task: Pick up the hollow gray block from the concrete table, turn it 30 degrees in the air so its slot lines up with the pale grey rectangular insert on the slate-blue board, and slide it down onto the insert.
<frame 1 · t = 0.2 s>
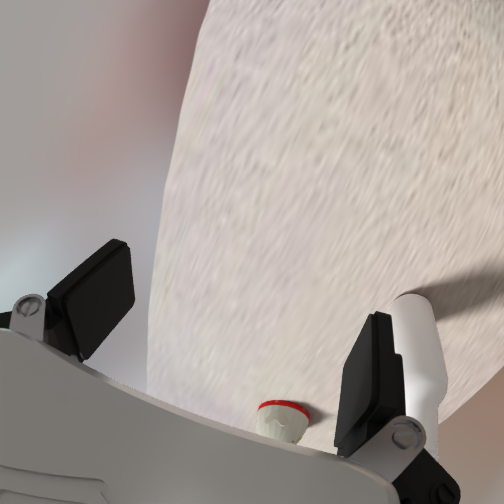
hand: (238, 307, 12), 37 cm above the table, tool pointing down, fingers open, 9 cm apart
alcohol: (408, 310, 52), on the table
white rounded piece: (284, 413, 77), on the table
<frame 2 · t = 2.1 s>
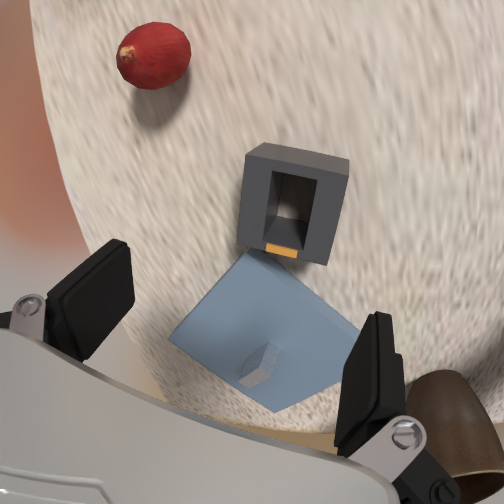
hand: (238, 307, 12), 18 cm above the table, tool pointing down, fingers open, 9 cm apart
onion: (177, 57, 24), on the table
hollow gray block: (299, 190, 27), on the table
base board: (268, 340, 37), on the table
pale grey rectangular insert: (259, 365, 33), on the base board, point 4 cm above the table
plant pot: (438, 386, 33), on the table
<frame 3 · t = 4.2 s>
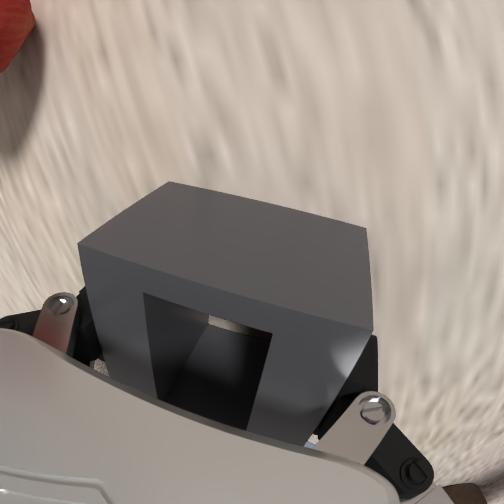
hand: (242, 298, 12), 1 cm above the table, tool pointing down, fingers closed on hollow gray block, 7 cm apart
onion: (33, 25, 9), on the table
hollow gray block: (249, 285, 13), on the table, touching gripper
plant pot: (445, 494, 20), on the table
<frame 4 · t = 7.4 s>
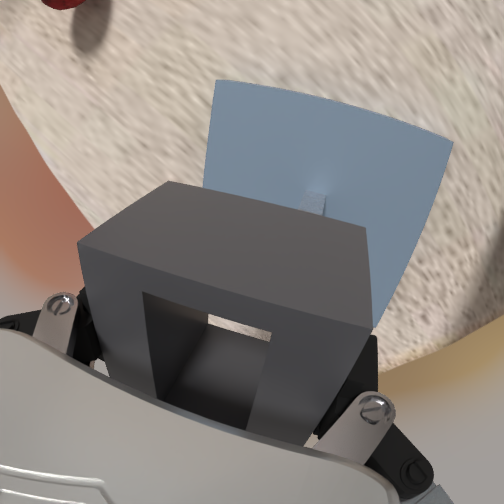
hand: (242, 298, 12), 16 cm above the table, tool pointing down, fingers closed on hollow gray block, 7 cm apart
hollow gray block: (248, 285, 13), point 15 cm above the table, touching gripper
base board: (312, 206, 26), on the table
pale grey rectangular insert: (306, 226, 23), on the base board, point 4 cm above the table
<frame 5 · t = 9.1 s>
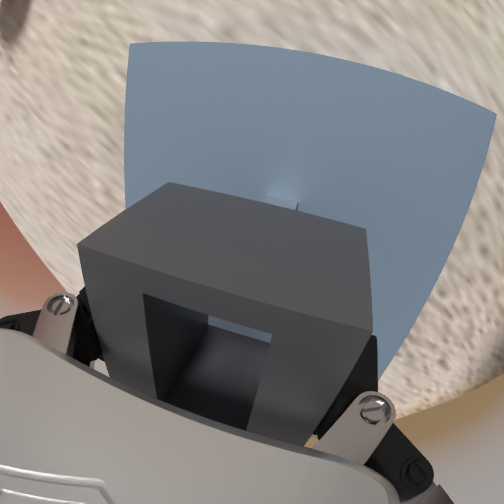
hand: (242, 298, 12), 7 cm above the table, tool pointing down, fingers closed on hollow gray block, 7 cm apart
hollow gray block: (249, 286, 13), point 6 cm above the table, touching gripper
base board: (282, 218, 18), on the table
when the fingers open (4 cm above the table, at t = 10.4 s): hollow gray block stays where it is, resting on base board.
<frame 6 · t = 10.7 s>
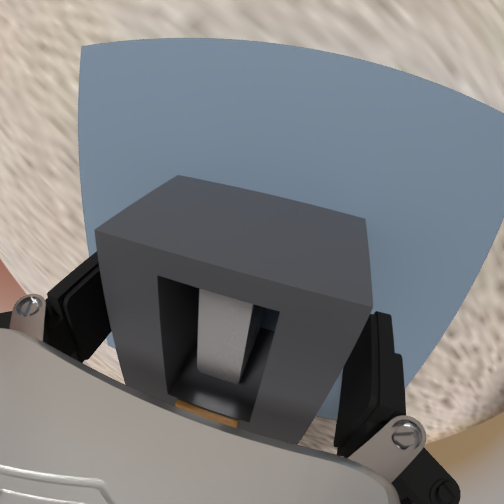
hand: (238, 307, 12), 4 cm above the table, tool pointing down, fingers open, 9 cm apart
hollow gray block: (254, 275, 13), point 2 cm above the table, touching base board
base board: (265, 252, 15), on the table
pale grey rectangular insert: (239, 305, 12), on the base board, point 4 cm above the table
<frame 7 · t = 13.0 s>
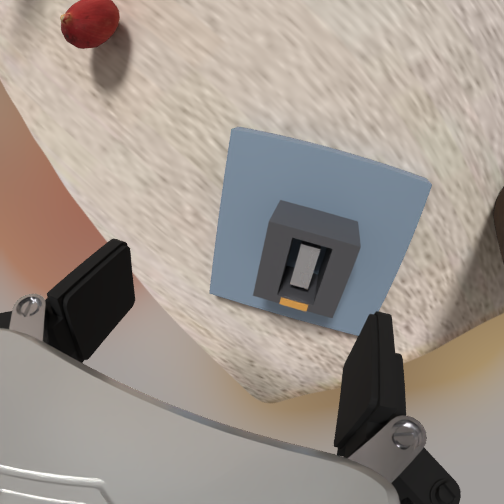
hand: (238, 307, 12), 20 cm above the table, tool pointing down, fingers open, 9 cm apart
onion: (113, 25, 25), on the table
hollow gray block: (309, 245, 30), point 2 cm above the table, touching base board
base board: (311, 236, 31), on the table
pale grey rectangular insert: (307, 255, 28), on the base board, point 4 cm above the table
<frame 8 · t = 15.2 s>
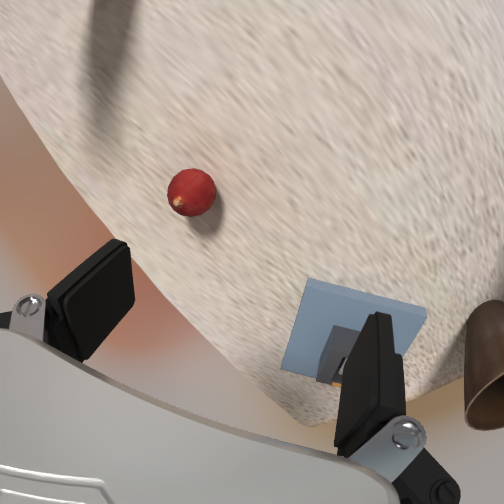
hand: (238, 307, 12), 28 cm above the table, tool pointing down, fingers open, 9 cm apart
onion: (204, 183, 41), on the table
hollow gray block: (349, 347, 45), point 2 cm above the table, touching base board
base board: (349, 338, 47), on the table
pale grey rectangular insert: (348, 356, 44), on the base board, point 4 cm above the table
plant pot: (488, 317, 38), on the table
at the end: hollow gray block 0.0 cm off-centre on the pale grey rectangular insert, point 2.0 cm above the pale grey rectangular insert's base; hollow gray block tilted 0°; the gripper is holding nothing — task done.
